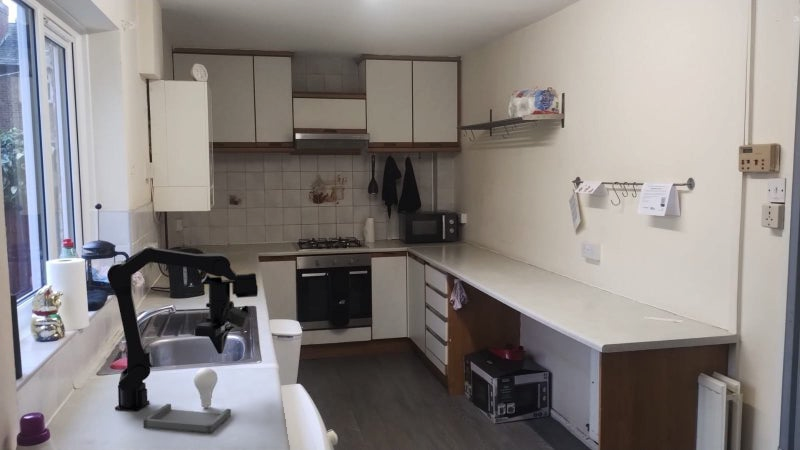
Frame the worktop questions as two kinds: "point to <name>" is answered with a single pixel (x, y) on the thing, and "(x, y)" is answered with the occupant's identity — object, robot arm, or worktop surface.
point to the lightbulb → (205, 385)
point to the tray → (185, 420)
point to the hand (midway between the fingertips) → (220, 353)
